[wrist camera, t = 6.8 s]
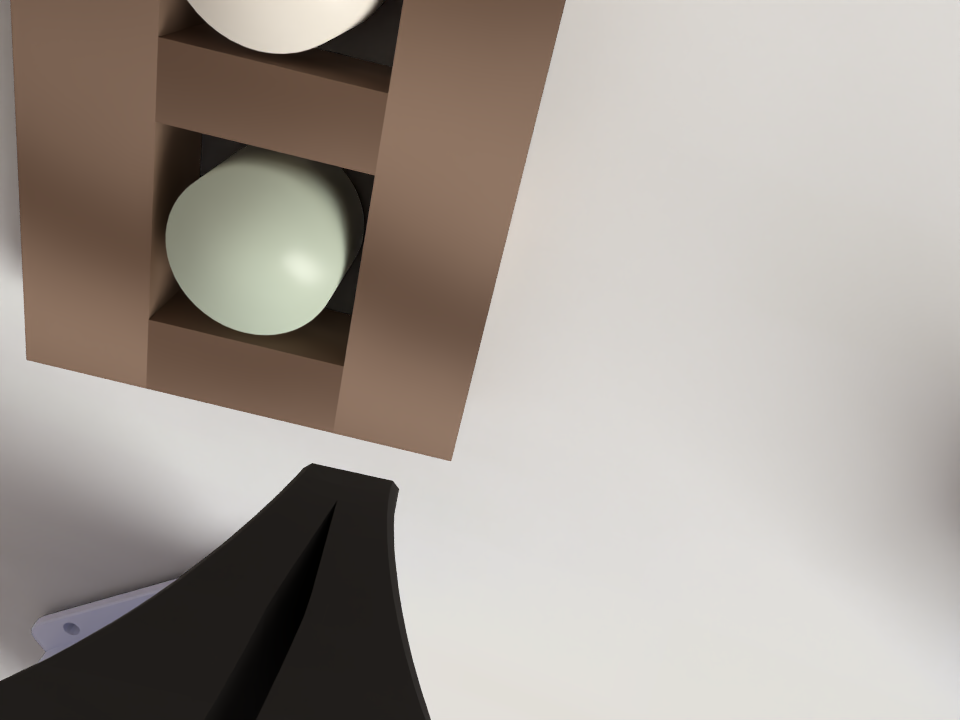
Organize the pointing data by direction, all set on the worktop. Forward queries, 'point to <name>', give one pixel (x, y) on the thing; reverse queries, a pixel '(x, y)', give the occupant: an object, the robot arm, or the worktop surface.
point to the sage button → (264, 239)
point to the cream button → (284, 21)
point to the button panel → (291, 130)
